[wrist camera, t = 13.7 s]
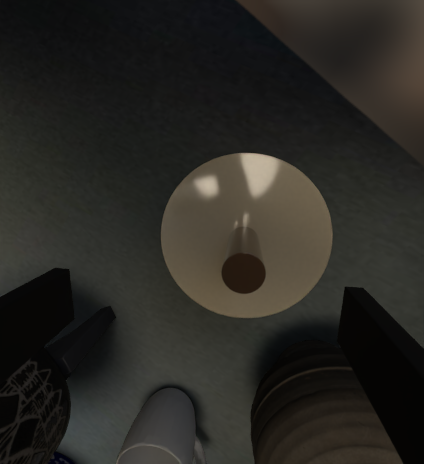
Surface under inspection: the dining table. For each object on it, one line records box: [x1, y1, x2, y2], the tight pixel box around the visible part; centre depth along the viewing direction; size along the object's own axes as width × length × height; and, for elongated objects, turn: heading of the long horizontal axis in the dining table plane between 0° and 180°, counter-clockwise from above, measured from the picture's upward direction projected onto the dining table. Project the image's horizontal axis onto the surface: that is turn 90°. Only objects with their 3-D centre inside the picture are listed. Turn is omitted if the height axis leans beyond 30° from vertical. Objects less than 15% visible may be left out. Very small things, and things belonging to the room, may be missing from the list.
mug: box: [117, 388, 207, 464], centre depth 38 cm, size 13×9×10 cm
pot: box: [251, 340, 403, 464], centre depth 29 cm, size 18×18×20 cm
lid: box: [161, 153, 333, 318], centre depth 22 cm, size 16×16×9 cm
